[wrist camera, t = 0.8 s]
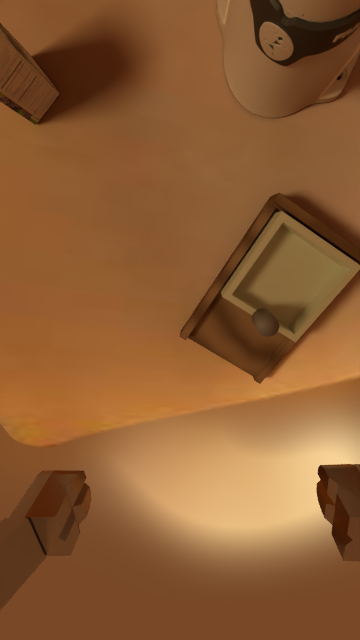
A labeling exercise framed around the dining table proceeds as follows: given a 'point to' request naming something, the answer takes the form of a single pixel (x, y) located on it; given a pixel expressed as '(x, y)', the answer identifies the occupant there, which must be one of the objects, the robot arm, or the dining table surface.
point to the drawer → (288, 278)
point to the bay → (236, 324)
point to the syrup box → (23, 80)
